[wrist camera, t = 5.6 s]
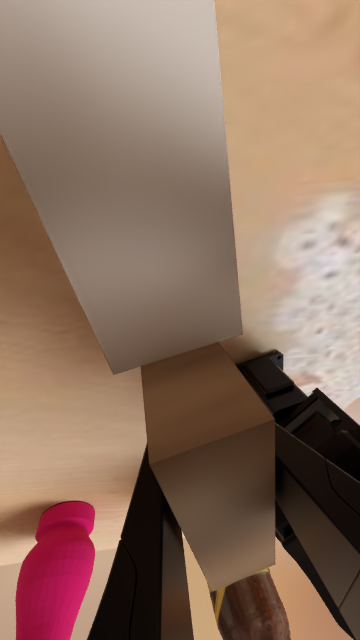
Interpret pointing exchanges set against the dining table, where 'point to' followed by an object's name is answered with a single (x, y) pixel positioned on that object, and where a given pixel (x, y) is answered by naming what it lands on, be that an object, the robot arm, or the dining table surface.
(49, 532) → the pepper mill
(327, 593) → the robot arm
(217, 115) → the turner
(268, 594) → the sauce bottle
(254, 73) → the dining table surface
